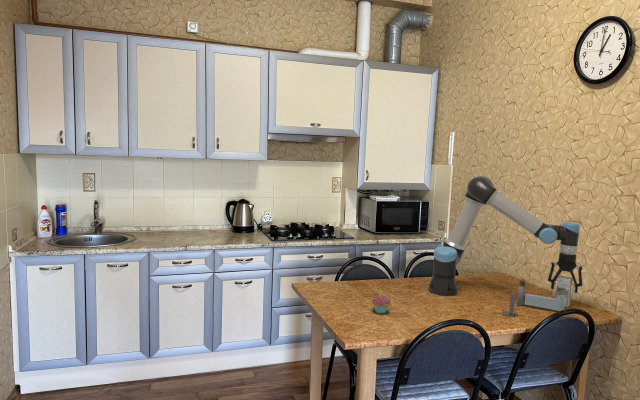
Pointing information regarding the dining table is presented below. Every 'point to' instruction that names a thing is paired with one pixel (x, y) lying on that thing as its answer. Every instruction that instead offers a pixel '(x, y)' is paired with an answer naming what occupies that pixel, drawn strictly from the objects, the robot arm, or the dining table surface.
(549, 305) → the gate
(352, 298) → the dining table surface
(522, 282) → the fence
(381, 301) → the cupcake
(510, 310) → the post
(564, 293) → the syrup box
